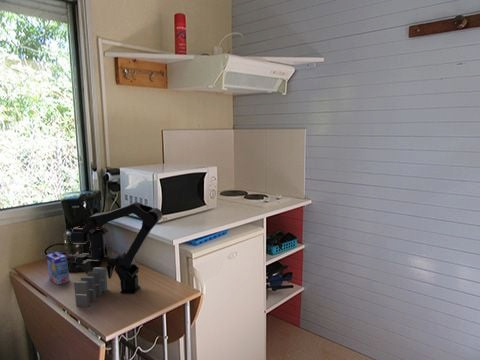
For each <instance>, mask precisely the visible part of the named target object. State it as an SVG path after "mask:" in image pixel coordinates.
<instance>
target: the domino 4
mask: <svg viewBox="0 0 480 360" xmlns="http://www.w3.org/2000/svg"><path fill="white" fill-rule="evenodd" d="M92 269H93V272H100V275H101V287H102V292H106V291H108V277H107V276H108V274H107V267H104V266H103V267H98V266H95V267H93V268H92Z"/></svg>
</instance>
